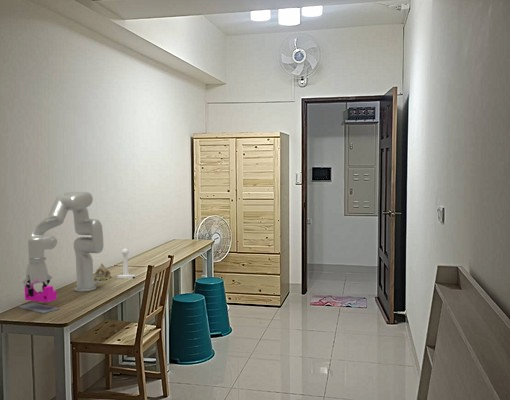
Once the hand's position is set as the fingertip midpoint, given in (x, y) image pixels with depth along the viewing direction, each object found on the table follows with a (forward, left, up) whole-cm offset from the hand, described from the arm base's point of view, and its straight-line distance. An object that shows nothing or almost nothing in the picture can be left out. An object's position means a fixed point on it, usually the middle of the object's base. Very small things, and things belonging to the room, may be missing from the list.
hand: (38, 294), depth 286 cm
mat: (0, 0, -8) cm, 8 cm away
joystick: (-76, -18, -8) cm, 79 cm away
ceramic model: (-67, -31, -8) cm, 74 cm away
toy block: (0, +2, -3) cm, 3 cm away
